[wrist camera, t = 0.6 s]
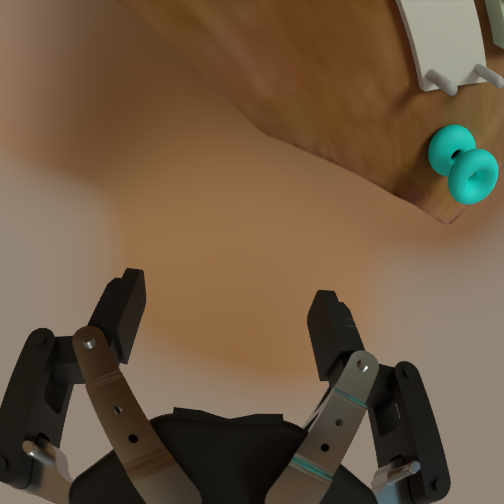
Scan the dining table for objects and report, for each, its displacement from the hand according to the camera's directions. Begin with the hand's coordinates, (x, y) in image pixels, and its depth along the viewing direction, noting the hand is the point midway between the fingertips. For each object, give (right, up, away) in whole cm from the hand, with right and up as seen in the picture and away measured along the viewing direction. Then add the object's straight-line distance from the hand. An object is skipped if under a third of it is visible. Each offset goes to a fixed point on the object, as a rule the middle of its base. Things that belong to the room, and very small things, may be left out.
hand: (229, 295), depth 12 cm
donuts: (+34, +20, +23) cm, 45 cm away
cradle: (+25, +33, +5) cm, 42 cm away
